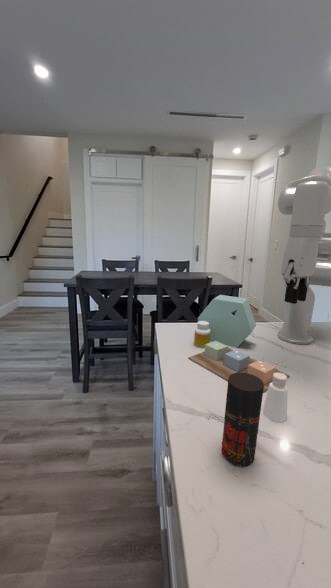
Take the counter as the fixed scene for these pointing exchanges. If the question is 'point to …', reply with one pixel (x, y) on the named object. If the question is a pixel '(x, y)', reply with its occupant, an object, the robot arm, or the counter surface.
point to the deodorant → (242, 418)
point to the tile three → (262, 371)
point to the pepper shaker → (276, 399)
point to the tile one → (215, 350)
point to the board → (222, 366)
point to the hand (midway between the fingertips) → (295, 300)
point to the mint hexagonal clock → (229, 320)
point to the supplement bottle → (202, 334)
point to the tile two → (236, 360)
